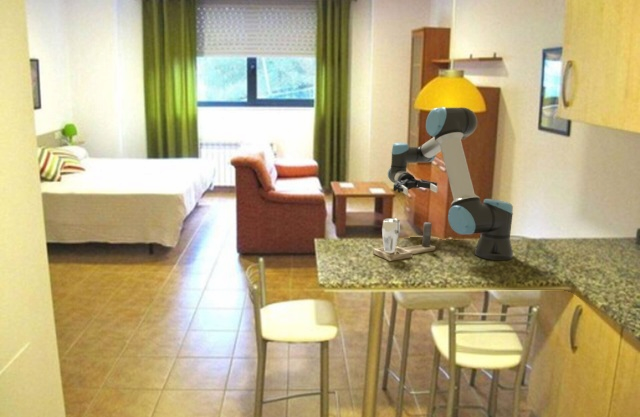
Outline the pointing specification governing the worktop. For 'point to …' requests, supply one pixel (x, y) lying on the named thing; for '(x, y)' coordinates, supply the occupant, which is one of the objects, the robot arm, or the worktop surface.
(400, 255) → the wooden peg stand
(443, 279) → the worktop surface
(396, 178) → the robot arm
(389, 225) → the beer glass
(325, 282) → the worktop surface
